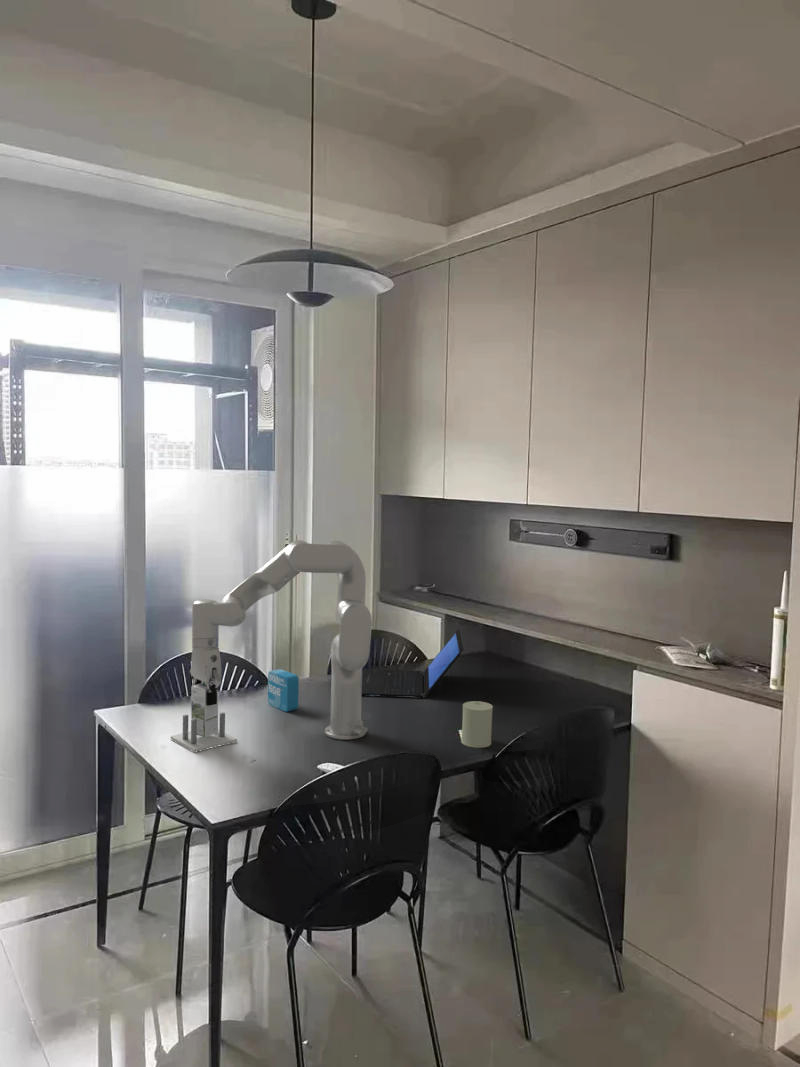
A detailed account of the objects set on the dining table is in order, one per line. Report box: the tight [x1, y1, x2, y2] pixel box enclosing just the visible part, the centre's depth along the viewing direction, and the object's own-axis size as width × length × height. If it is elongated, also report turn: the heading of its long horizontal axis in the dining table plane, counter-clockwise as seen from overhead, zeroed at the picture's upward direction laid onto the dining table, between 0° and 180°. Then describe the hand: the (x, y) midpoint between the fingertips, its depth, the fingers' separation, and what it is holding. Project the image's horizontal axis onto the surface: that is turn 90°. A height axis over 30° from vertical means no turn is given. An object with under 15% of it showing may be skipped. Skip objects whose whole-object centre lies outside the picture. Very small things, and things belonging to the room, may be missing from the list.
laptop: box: [362, 629, 464, 698], centre depth 298 cm, size 33×38×19 cm
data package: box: [267, 668, 300, 713], centre depth 267 cm, size 12×4×12 cm, turn 43°
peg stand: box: [170, 712, 238, 753], centre depth 233 cm, size 14×14×8 cm
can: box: [460, 700, 494, 749], centre depth 239 cm, size 9×9×12 cm
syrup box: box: [190, 682, 219, 737], centre depth 233 cm, size 6×6×14 cm
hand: (204, 701), depth 232 cm, fingers closed on syrup box, 6 cm apart
